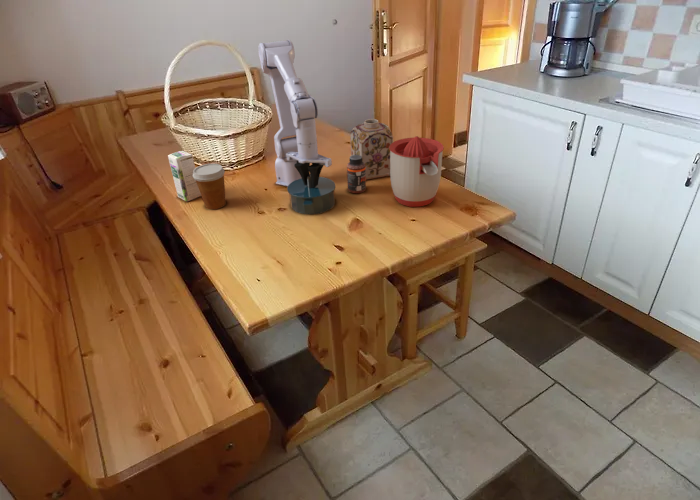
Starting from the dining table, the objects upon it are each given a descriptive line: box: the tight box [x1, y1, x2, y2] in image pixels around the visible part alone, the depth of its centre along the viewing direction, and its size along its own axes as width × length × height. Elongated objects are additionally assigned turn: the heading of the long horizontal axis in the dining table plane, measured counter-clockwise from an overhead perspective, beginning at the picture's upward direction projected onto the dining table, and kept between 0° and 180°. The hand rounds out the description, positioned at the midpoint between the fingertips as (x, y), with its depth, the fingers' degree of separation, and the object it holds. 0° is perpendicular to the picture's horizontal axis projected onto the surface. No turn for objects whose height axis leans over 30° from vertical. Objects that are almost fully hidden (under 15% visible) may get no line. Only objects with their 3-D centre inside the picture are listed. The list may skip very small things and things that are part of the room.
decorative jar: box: [349, 118, 394, 181], centre depth 160 cm, size 12×12×18 cm
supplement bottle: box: [346, 155, 367, 194], centre depth 150 cm, size 6×6×11 cm
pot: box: [288, 190, 336, 215], centre depth 145 cm, size 14×19×5 cm
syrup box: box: [167, 150, 202, 202], centre depth 150 cm, size 6×6×14 cm
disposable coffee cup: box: [192, 163, 227, 210], centre depth 145 cm, size 10×10×12 cm
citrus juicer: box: [389, 135, 445, 208], centre depth 140 cm, size 16×17×20 cm
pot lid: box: [286, 173, 336, 199], centre depth 142 cm, size 15×15×5 cm
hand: (311, 184), depth 143 cm, fingers closed on pot lid, 2 cm apart
